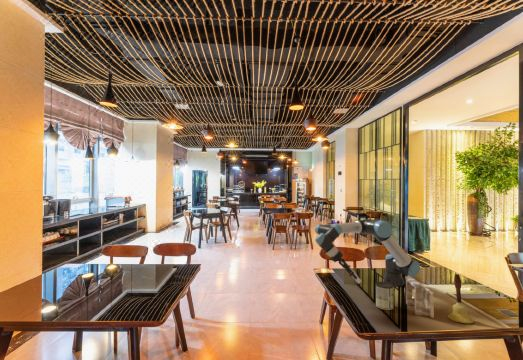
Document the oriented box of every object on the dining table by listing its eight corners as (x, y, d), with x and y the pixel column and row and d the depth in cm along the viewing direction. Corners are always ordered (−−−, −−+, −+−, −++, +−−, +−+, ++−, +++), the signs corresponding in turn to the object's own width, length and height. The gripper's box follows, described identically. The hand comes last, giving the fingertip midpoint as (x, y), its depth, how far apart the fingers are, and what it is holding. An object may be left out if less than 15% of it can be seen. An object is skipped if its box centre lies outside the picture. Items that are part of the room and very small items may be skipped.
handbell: (478, 320, 154) (474, 275, 156) (466, 325, 148) (463, 277, 151) (454, 313, 165) (451, 271, 167) (443, 317, 159) (440, 273, 162)
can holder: (405, 302, 179) (404, 275, 180) (420, 304, 178) (420, 276, 179) (416, 315, 160) (415, 285, 161) (433, 317, 158) (433, 287, 159)
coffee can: (375, 302, 179) (375, 280, 180) (392, 304, 176) (392, 282, 176) (376, 308, 169) (376, 285, 170) (394, 311, 166) (394, 287, 167)
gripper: (328, 253, 191) (349, 277, 188) (332, 262, 166) (357, 289, 163) (336, 246, 190) (358, 270, 187) (341, 254, 166) (366, 281, 163)
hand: (357, 279), depth 175 cm, fingers open, 13 cm apart
